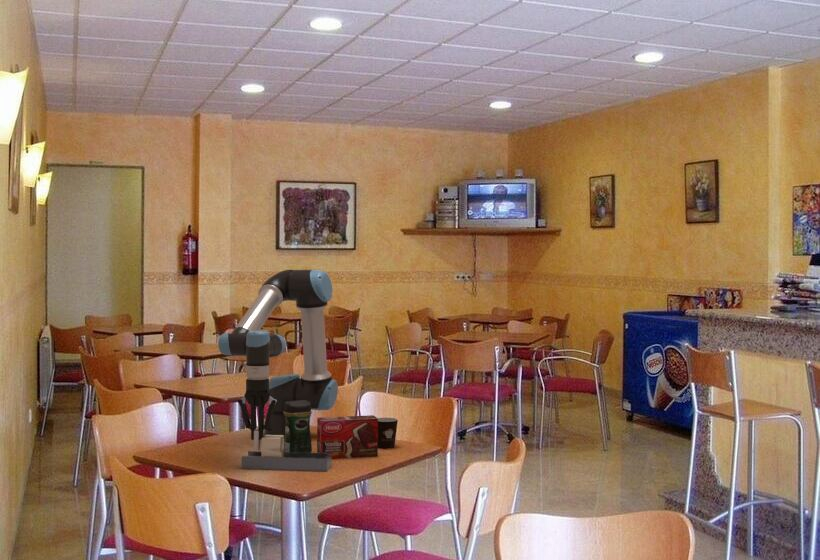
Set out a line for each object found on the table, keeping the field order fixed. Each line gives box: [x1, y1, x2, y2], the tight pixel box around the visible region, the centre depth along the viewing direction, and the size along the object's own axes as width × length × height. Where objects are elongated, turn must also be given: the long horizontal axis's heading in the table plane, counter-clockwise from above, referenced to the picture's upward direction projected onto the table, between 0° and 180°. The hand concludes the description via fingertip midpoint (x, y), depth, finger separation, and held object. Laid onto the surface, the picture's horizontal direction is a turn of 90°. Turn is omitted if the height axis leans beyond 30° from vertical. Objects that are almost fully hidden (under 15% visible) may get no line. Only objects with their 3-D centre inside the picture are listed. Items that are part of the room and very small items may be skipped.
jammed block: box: [260, 435, 284, 457], centre depth 300 cm, size 6×6×8 cm
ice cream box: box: [316, 414, 379, 460], centre depth 317 cm, size 20×6×13 cm, turn 107°
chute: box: [241, 450, 333, 472], centre depth 299 cm, size 9×28×4 cm, turn 85°
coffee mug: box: [377, 417, 399, 450], centre depth 333 cm, size 12×9×10 cm
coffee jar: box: [283, 400, 313, 453], centre depth 320 cm, size 10×8×19 cm
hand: (257, 449), depth 300 cm, fingers closed
